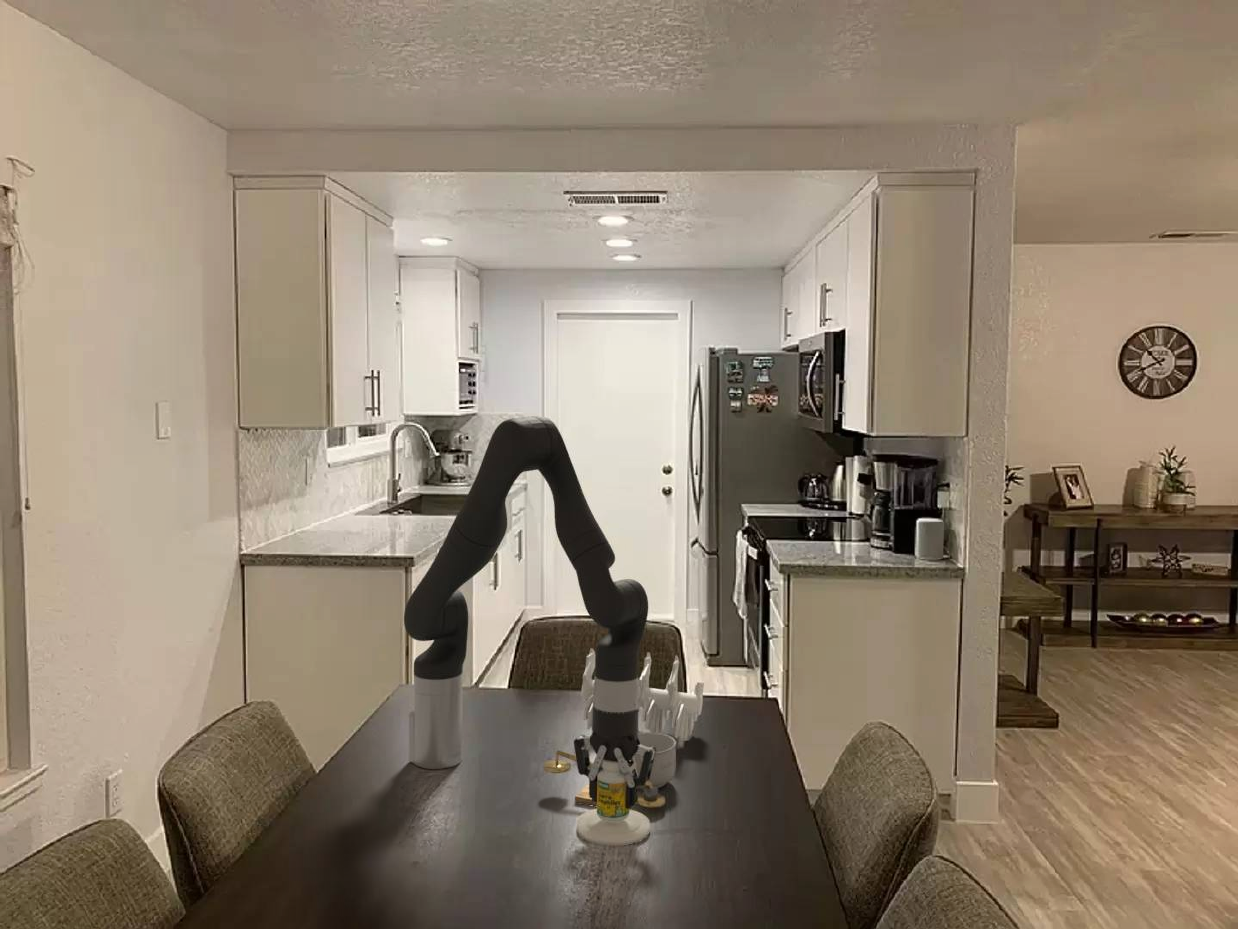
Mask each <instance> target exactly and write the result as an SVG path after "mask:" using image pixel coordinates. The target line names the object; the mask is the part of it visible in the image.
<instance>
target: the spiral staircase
mask: <svg viewBox="0 0 1238 929" xmlns="http://www.w3.org/2000/svg"><path fill="white" fill-rule="evenodd" d="M595 653H596V650H594V648H592V647H590V649H589V654H588V655H587V656H586V658H585V659H586V660H585V669H584V673H583V675H582V685H581V691H580V693H581V694H580V696H581V699H582V701H583V702H584V708H583V709H584V711H583V718H582V719H583V720H584V721H587V722H586V729H587V730H590V729H592V712H593V686H594V680H595V679H592V678H593V675H594V674H593V673H594V672H595ZM643 663H644V664H643V670H642V672H641V675H640V677H638V684H639V698H640V702H639V714H640V713H642V717H641V722H643V723H644V722H645V728H644V730H650V732H651V733H661V734H663V730H664V728H665V726H666V721H668V720H669V717H670V712H671V714H672V720H671V729H674V731H675V732H674V739H678V743H679V746H682V745H683V742H686V741H688V737H690V736H692V732H693V729H694V726H695V722H697V720H698V716H701V713H702V709H703V701H704V699H703V698H704V697H703V694H704V686H705V683H704V682H699V681H698V682H696V684H695V686H694V691H692V693H689V692H688V693H687V692H681V691H678V676H679V675H678V674H679V666H680V659H679V657H678V655H674V661H673V663H672V671H671V672H670V673H671V674H670V677H669V678H668V681H667V682H666V686H665V689H661V688H653V687H650V675H651V666H652V657H651V653H650V652H648V651H647V653H646V657H645V658H644V662H643ZM639 717H640V715H639V716H638V718H639Z"/></svg>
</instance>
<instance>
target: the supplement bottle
mask: <svg viewBox="0 0 1238 929" xmlns="http://www.w3.org/2000/svg"><path fill="white" fill-rule="evenodd" d="M601 766H602V769H601V770H600V771H599V772H598V774H597V807H596V809H597V815H598V817H599V818H601V819H602V820H605V821H610V822H616V821H622V820H624V819H626V818H627V817H628V816H629V809H627V808H626V787H627V786H628V784H627V781H626V778H625V775H623V774H622V771H621V768H620V765H619V762H615V761H609V760H604V759H603V761H602V764H601Z"/></svg>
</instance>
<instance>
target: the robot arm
mask: <svg viewBox="0 0 1238 929" xmlns="http://www.w3.org/2000/svg"><path fill="white" fill-rule="evenodd" d="M487 444H488V445H487V448H486V451H485V453H484V455H483V458H482V461H481V463H480V466H479V469H478V472H477V474H476V477H475V479H474V481H473V483H472V485H471V486H470V490H469V491H468V494H467V496H466V498H465V500H464V501H463V504H462V506H461V507H460V509H459V511H458V513H457V515H456V516H455V518H454V520H453V522H452V524H451V526H450V528H449V530H448V532H447V534H446V537H445V538H444V541H443V543H442V545H441V547H440V549H439V550H438V552H437V553H436V555H435V558H434V560H433V561H432V563H431V565H430V566H429V568H428V570H427V571H426V573H425V574H424V576H423V577H422V579H421V580H420V582H419V583H418V584H417V586H416V588H415V589H414V591H413V592H412V593H411V595H410V597H409V598H408V600H407V603H406V606H405V608H404V615H403V623H404V629H405V632H406V633H407V635H408V636H409V637H410V638H412V639H413V640H415V641H418V642H428V641H432V643H431V644H430V646H429V647H428V648H427V649H426V650H424V651H423V652H422V653H420V654H419V655H417V657H416V658H415V659H414V661H413V708H412V709H413V710H412V711H411V712H409V713H408V762H409V763H413V764H414V765H415V766H417V767H420V768H423V769H428V770H429V769H430V770H439V769H440V770H441V769H448V768H451V767H454V766H457V765H458V764H460V763H461V761H462V756H463V755H462V754H463V747H462V746H463V676H464V674H463V672H464V671H463V669H464V667H463V666H464V663H465V660H466V658H467V657H466V656H467V645H468V633H469V631H468V630H469V608H468V603H467V599H466V597H465V596H464V594H463V593H462V592H461V591H460V590H459V589H460V588H461V587H462V586H464V584H466V583H467V582H468V581H469V580H471V579H472V578H473V577H474V576H476V575H477V574H478V573H479V572H481V571H482V569H483V570H484V568H485V567H486V566H487V565H488V564H489V563H490V562H491V560H493V557H494V556H495V555H496V553H497V551H498V549H499V548H500V545H501V544H502V542H503V540H504V537H505V535H506V533H507V529H508V512H507V507H506V501H507V497H508V494H509V492H510V491H511V489H512V487H513V485H514V483H515V482H516V480H517V479H518V478H519V476H520V475H521V474H522V473H524V472H532V471H537V470H538V471H539V472H540V474H541V476H542V477H543V478H544V480H545V481H546V483H547V485H548V487H549V489H550V491H551V494H552V498H553V500H552V501H553V507H554V509H553V510H554V513H553V514H554V525H555V532H556V535H557V538H558V541H559V543H560V545H561V547H562V549H563V551H564V553H565V554H566V556H567V558H568V561H569V563H570V564H571V566H572V567H573V569H574V571H575V572H576V575H577V576H576V578H577V581H578V582H577V583H578V586H579V589H580V593H581V596H582V600H583V604H584V607H585V610H586V612H587V613H588V615H589V617H590V618H591V619H592V620H593V622H594V623H596V624H597V625H598V626H599V627H601V628H604V629H608V631H607V633H606V635H605V636H604V637H603V638H602V639H601V640H599V642H598V643H597V645H596V648H595V669H594V679H593V680H594V686H593V712H592V728H591V732H592V733H591V735H590V736H586V735H584V734H580V735H579V736H578V737H576V738H575V739H574V740H573V747H574V751H575V752H574V753H575V756H576V760H577V762H576V765H577V771H578V774H579V775H581V776H583V775H584V776H585V777H587V778H588V784H589V796H590V798H592V802H596V803H597V774H598V772H599V771H600V770H601V769H602V766H601V764H602V761H603V759H604V760H609V761H615V762H619V765H620V768H621V771H622V774H623V775H625V778H626V781H627V784H628V786H627V787H626V808H627V809H631V810H632V808H633V807H634V806H635V805H636V804H637V801H638V795H639V789H638V785H641V786H643V785H645V783H646V782H647V781H648V780H649V779H650V776H651V771H652V767H653V763H654V758H655V754H656V748H655V747H654V746H651V747H650V748H649V747H646V746H644V745H641V744H640V741H639V739H638V733H639V717H640V712H639V702H640V698H639V684H638V679H639V649H640V647H641V643H642V640H643V636H644V633H645V628H646V625H647V621H648V615H649V600H648V596H647V592H646V590H645V588H644V586H643V585H642V584H641V583H640V582H639V581H637V580H635V579H631V578H624V579H620V580H616V581H614V579H613V578H612V575H611V572H610V568H612V566H613V565H614V563H615V561H616V556H615V555H616V554H615V553H614V549H613V547H612V546H611V544H610V542H609V541H608V539H607V537H606V536H605V534H604V532H603V530H602V528H601V527H600V525H599V523H598V521H597V520H596V518H595V516H594V514H593V512H592V510H591V508H590V506H589V504H588V501H587V498H586V496H585V495H584V491H583V489H582V487H581V484H580V480H579V477H578V476H577V472H576V470H575V467H574V464H573V463H572V460H571V457H570V454H569V452H568V449H567V446H566V443H565V441H564V438H563V437H562V433H561V431H559V428H558V427H557V426H556V424H555V422H553V421H552V420H551V419H550V418H548V417H545V416H540V415H537V416H535V415H534V416H522V417H511V418H509V419H505V420H503V421H502V422H501V423H499V425H498V426H496V428H495V430H494V431H493V433H492V435H491V437H490V439H489V443H487ZM638 716H639V717H638ZM590 746H591V747H592V749H593V751H594V753H595V754H596V756H595V758H594V760H593V761H592V762H593V764H592V766H591V765H590V761H591V760H590V759H591V758H590V753H589V748H590ZM637 751H638V752H639V753H640V758H641V760H643V761H642V766H641V770H640V775H638V772H637V769H636V762H635V759H634V757H633V756H634V755H635V754H636V752H637Z"/></svg>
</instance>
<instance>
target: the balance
mask: <svg viewBox="0 0 1238 929" xmlns="http://www.w3.org/2000/svg"><path fill="white" fill-rule="evenodd" d="M559 756H560V757H563V758H566V759H568V760H571V761H574V762H575V763H577V760H576V754H575V755H574V754H572V753H570V752H567V751H564V750H561V749H557V750H556V752H555V759H551V760H548V761H544V762H543V763H542V769H543V771H545V772H547V773H550V774H564V773H567V772H569V771H571V770H572V764H571V762H569V761H566V760H563V759H560V758H559ZM593 762H594V761H592V760H590V765H591V766H592V764H593ZM643 786H644V789H643V793H641V794H638V801H637V803H636V804H637V805H639V806H640V807H643V808H647V809H649V808H650V809H654V808H655V809H656V808H660V807H663V806H665V804H666V798H665V796H664V795H661V794H659V793H658V792H659V791H658V790H659V788H658V787H657V786H655V785H652V783H651V782H648V781H647V782H646V783H645V785H643ZM574 803H575V804H577V803H581V804H580V805H582V804H587V805H586V806H588V805H593V806H597V803H596V802H592V798H590V796H589V783H588V784H587V785H586V786H585V787H583V788H582V789H581V790H580V791H579V792H578V793H577V794H575V795H574ZM593 806H592V807H593Z"/></svg>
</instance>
